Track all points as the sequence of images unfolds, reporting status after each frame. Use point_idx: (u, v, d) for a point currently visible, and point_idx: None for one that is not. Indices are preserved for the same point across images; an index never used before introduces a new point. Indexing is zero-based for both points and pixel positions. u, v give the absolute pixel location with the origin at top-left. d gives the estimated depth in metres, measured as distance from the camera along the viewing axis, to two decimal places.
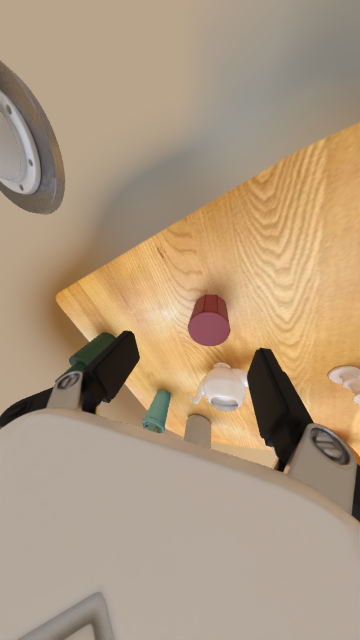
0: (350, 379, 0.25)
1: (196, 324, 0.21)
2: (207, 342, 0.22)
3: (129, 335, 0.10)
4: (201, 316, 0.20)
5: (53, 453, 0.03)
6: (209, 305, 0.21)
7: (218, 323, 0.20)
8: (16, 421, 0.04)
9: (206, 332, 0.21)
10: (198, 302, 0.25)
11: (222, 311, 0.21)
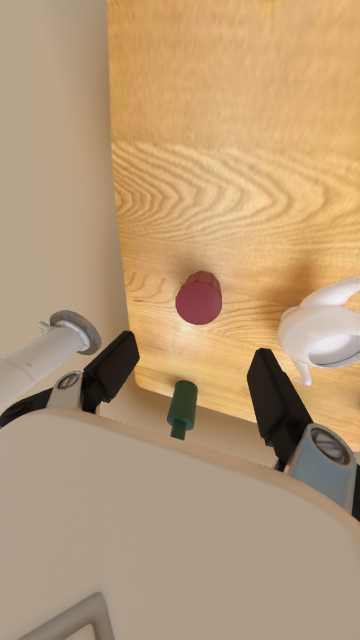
0: None
1: (185, 312, 0.19)
2: (212, 313, 0.18)
3: (129, 335, 0.10)
4: (179, 303, 0.19)
5: (53, 453, 0.03)
6: None
7: (193, 291, 0.17)
8: (16, 421, 0.04)
9: (199, 308, 0.18)
10: None
11: (190, 280, 0.19)
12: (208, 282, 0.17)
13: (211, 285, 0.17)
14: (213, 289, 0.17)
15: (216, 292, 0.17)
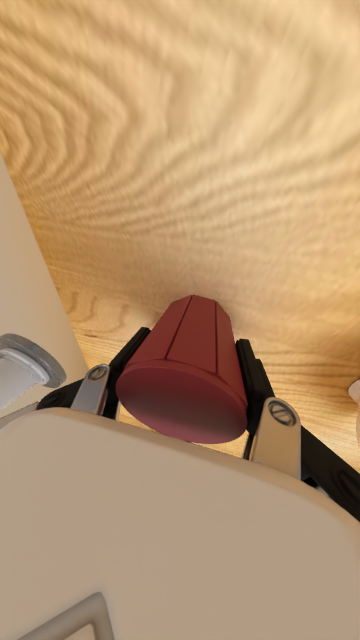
0: None
1: (146, 416, 0.07)
2: (217, 434, 0.07)
3: (147, 331, 0.10)
4: (126, 399, 0.07)
5: (53, 453, 0.03)
6: None
7: (159, 386, 0.06)
8: (16, 421, 0.04)
9: (180, 418, 0.07)
10: None
11: (157, 338, 0.07)
12: (205, 362, 0.05)
13: (215, 379, 0.05)
14: (222, 393, 0.05)
15: (232, 401, 0.05)
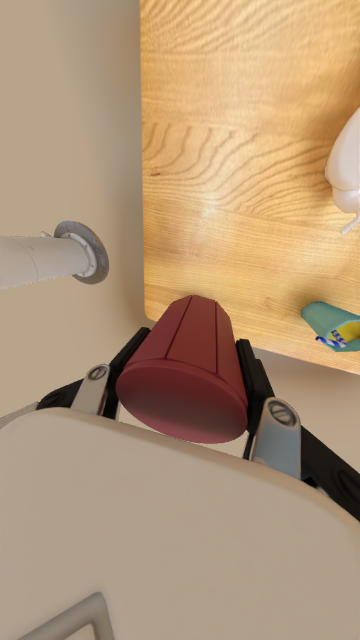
0: None
1: (146, 415, 0.07)
2: (217, 434, 0.07)
3: (147, 331, 0.10)
4: (126, 398, 0.07)
5: (53, 453, 0.03)
6: None
7: (159, 385, 0.06)
8: (16, 421, 0.04)
9: (180, 418, 0.07)
10: None
11: (157, 338, 0.07)
12: (205, 361, 0.05)
13: (215, 379, 0.05)
14: (222, 393, 0.05)
15: (232, 401, 0.05)
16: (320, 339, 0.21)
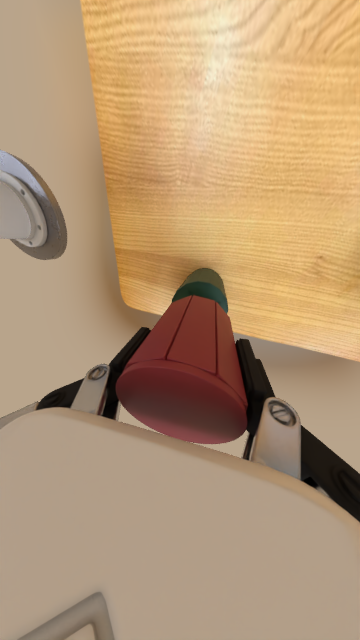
0: None
1: (146, 416, 0.07)
2: (217, 435, 0.07)
3: (147, 331, 0.10)
4: (126, 399, 0.07)
5: (53, 453, 0.03)
6: None
7: (159, 386, 0.06)
8: (16, 421, 0.04)
9: (180, 418, 0.07)
10: None
11: (157, 338, 0.07)
12: (205, 362, 0.05)
13: (215, 379, 0.05)
14: (222, 393, 0.05)
15: (232, 401, 0.05)
16: None
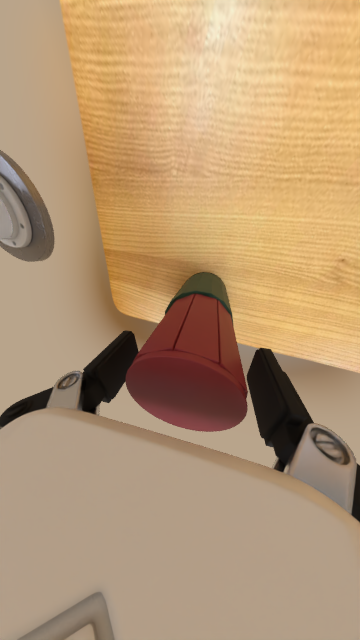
0: None
1: (153, 405, 0.08)
2: (219, 421, 0.07)
3: (129, 335, 0.10)
4: (135, 388, 0.07)
5: (53, 453, 0.03)
6: None
7: (166, 374, 0.06)
8: (16, 421, 0.04)
9: (185, 406, 0.07)
10: None
11: (164, 332, 0.07)
12: (209, 352, 0.06)
13: (218, 367, 0.05)
14: (224, 380, 0.05)
15: (233, 388, 0.05)
16: None
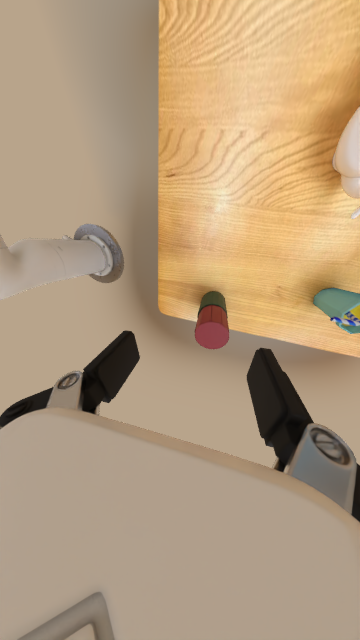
0: None
1: (202, 340, 0.26)
2: (222, 342, 0.25)
3: (129, 335, 0.10)
4: (197, 334, 0.26)
5: (53, 453, 0.03)
6: (198, 322, 0.28)
7: (208, 327, 0.25)
8: (16, 421, 0.04)
9: (212, 338, 0.26)
10: None
11: (206, 318, 0.26)
12: (219, 321, 0.24)
13: (221, 324, 0.24)
14: (223, 327, 0.24)
15: (225, 329, 0.24)
16: (335, 319, 0.22)
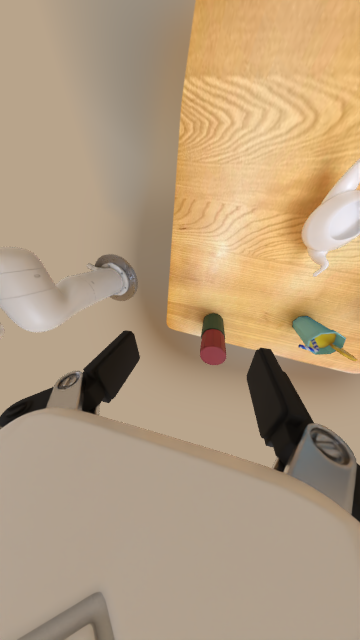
0: None
1: (205, 358, 0.35)
2: (220, 360, 0.34)
3: (129, 335, 0.10)
4: (202, 354, 0.34)
5: (53, 453, 0.03)
6: (202, 343, 0.36)
7: (211, 350, 0.33)
8: (16, 421, 0.04)
9: (213, 357, 0.34)
10: None
11: (208, 342, 0.34)
12: (219, 346, 0.33)
13: (220, 348, 0.32)
14: (221, 350, 0.32)
15: (223, 351, 0.32)
16: (301, 346, 0.31)
